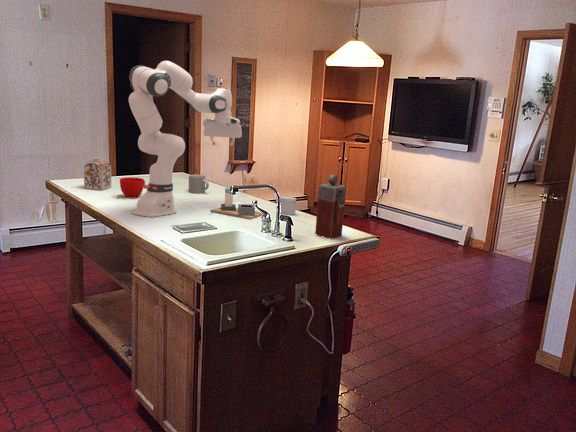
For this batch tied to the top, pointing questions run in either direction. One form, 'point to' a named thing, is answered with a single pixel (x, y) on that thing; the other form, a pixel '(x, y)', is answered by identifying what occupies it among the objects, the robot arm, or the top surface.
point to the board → (235, 213)
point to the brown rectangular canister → (330, 209)
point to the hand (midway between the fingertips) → (222, 145)
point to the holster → (228, 208)
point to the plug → (228, 198)
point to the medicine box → (288, 205)
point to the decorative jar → (97, 174)
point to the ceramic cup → (132, 186)
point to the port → (246, 209)
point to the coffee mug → (197, 184)
